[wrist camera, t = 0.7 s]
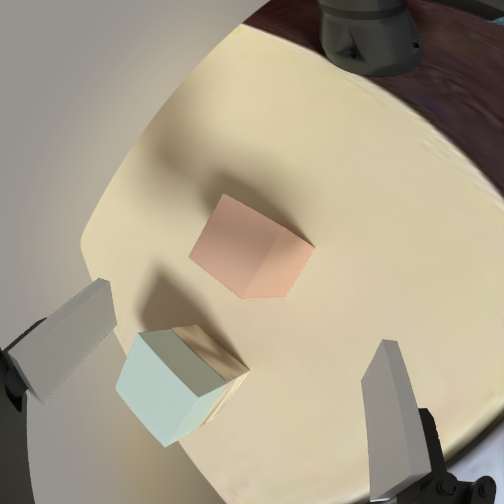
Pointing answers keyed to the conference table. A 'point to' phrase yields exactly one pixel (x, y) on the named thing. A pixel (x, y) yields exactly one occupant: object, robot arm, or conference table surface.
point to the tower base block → (214, 364)
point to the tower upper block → (167, 385)
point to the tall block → (250, 251)
